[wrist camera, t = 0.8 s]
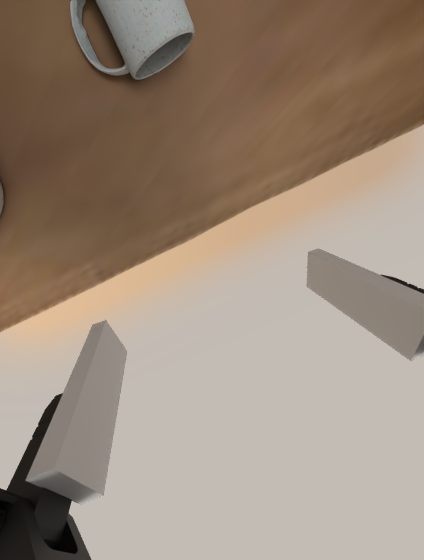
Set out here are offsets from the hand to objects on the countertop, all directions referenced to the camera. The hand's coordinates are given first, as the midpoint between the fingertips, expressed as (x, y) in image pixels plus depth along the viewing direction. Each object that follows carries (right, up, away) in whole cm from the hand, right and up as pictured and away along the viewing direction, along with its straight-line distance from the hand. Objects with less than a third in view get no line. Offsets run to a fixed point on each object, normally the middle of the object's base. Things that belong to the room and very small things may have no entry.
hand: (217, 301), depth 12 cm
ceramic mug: (-9, +29, +9) cm, 31 cm away
